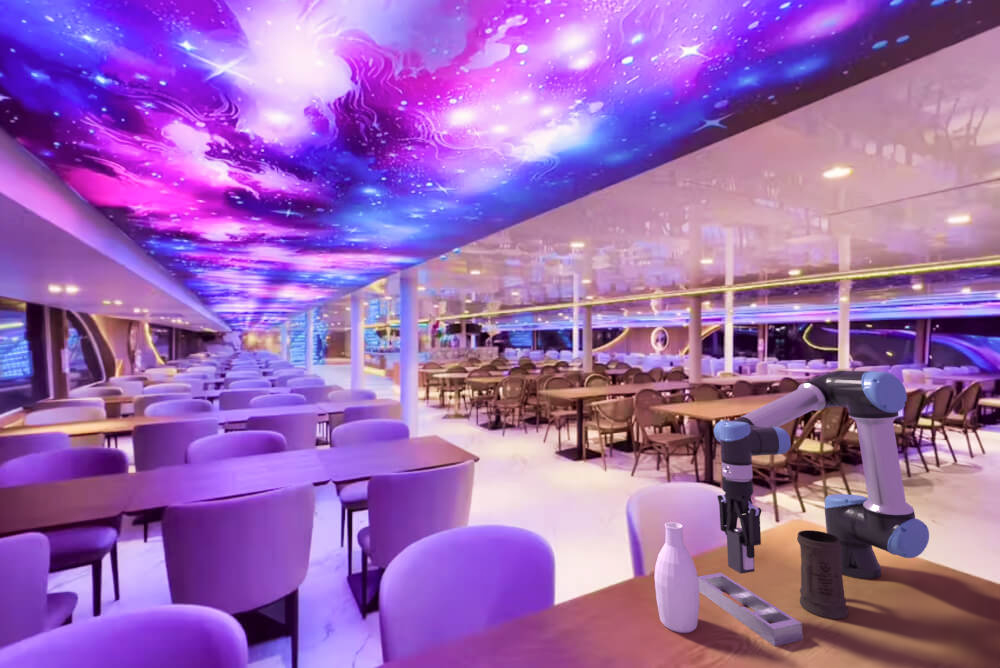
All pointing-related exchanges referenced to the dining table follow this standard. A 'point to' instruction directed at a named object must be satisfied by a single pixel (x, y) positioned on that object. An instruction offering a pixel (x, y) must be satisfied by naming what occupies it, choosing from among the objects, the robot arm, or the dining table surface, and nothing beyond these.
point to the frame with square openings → (764, 612)
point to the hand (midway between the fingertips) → (741, 564)
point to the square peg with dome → (736, 550)
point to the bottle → (676, 583)
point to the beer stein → (821, 575)
